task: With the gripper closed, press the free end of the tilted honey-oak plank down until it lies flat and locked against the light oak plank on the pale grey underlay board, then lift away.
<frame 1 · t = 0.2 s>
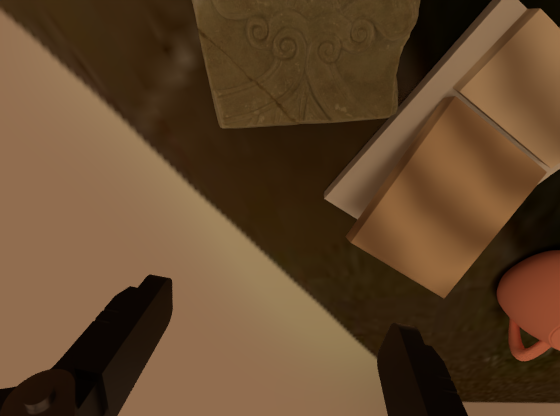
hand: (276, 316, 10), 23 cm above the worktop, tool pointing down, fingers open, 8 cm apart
honey oak plank: (443, 205, 27), point 5 cm above the worktop, hinge at 22.0°
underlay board: (451, 156, 29), on the worktop
light oak plank: (524, 91, 25), resting on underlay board
teapot: (549, 274, 37), on the worktop
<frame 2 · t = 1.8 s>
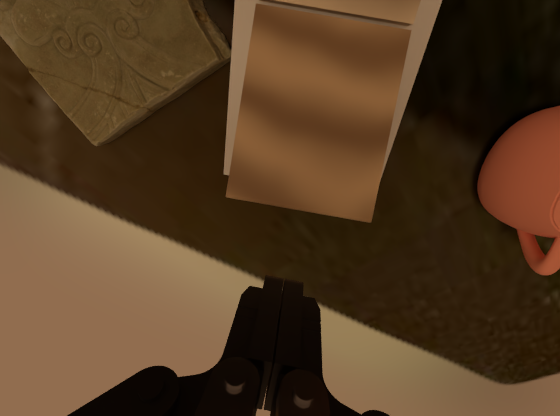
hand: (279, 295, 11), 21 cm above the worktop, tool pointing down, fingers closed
honey oak plank: (314, 118, 23), point 5 cm above the worktop, hinge at 22.0°
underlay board: (320, 72, 26), on the worktop
teapot: (540, 156, 28), on the worktop
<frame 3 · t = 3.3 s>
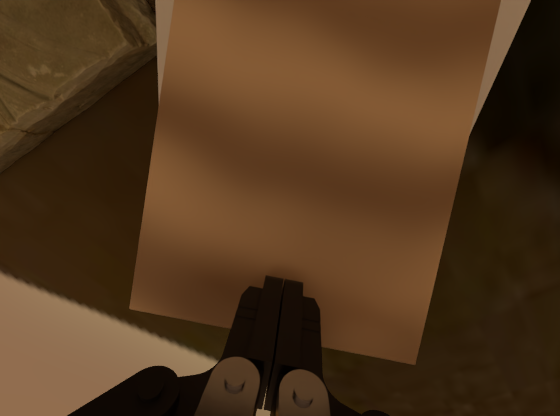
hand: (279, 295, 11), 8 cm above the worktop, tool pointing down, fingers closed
honey oak plank: (304, 157, 12), point 5 cm above the worktop, hinge at 22.0°, touching gripper
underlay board: (318, 71, 15), on the worktop
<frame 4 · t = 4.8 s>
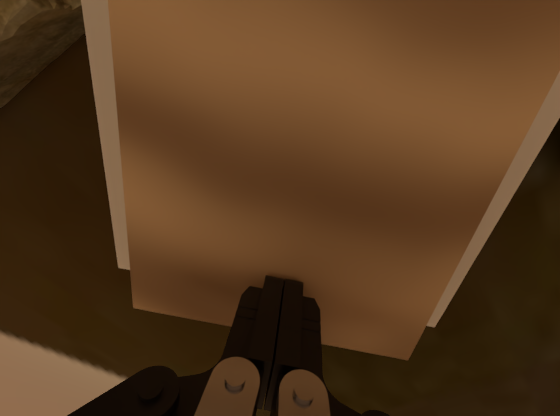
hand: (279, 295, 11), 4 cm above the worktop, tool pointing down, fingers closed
honey oak plank: (303, 161, 10), point 3 cm above the worktop, hinge at 2.4°, touching gripper
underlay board: (323, 48, 10), on the worktop
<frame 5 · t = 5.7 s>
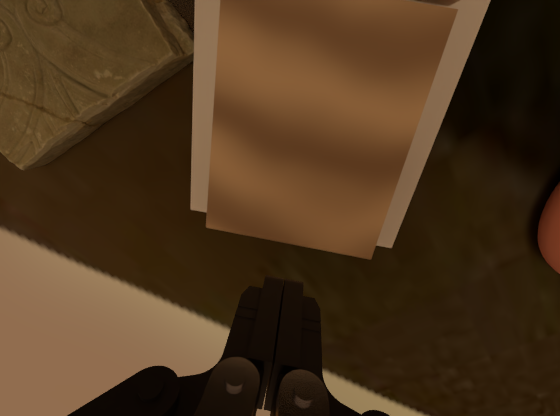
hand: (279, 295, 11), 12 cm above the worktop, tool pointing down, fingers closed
honey oak plank: (308, 136, 18), point 3 cm above the worktop, hinge at 2.4°
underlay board: (320, 75, 19), on the worktop
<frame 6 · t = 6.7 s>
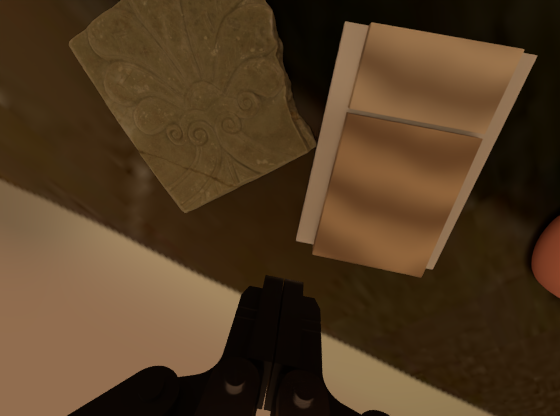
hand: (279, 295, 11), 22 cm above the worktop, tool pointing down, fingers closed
decorative tile: (210, 93, 30), on the worktop
honey oak plank: (386, 200, 29), point 3 cm above the worktop, hinge at 2.4°
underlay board: (392, 160, 30), on the worktop
light oak plank: (419, 80, 27), resting on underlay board
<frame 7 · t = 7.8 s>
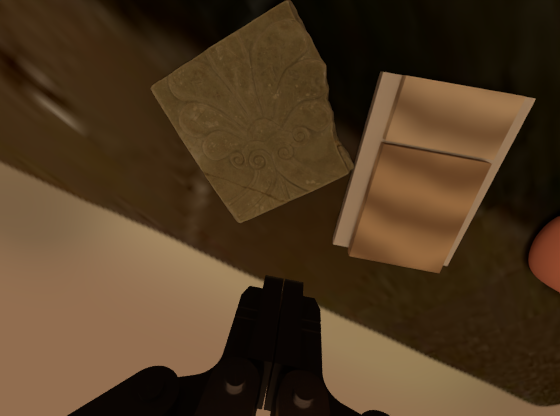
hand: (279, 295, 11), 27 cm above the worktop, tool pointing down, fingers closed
decorative tile: (264, 124, 36), on the worktop
honey oak plank: (411, 211, 35), point 3 cm above the worktop, hinge at 2.4°
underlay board: (415, 178, 36), on the worktop
light oak plank: (440, 115, 33), resting on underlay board
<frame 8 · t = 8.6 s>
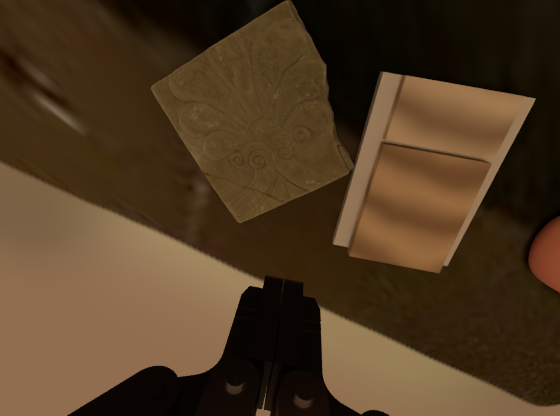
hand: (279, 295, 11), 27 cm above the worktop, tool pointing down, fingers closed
decorative tile: (264, 124, 36), on the worktop
honey oak plank: (411, 211, 35), point 3 cm above the worktop, hinge at 2.4°
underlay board: (415, 178, 36), on the worktop
light oak plank: (440, 115, 33), resting on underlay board
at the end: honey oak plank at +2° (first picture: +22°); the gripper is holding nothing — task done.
